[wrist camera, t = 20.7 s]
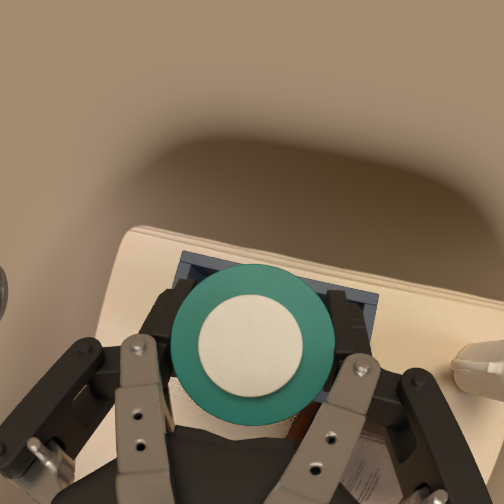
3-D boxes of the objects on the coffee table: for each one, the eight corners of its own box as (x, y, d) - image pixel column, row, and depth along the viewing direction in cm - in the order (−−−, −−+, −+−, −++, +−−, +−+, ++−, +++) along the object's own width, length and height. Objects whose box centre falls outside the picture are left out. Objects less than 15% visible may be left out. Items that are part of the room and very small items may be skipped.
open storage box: (194, 352, 35) (152, 358, 23) (213, 279, 37) (182, 250, 25) (328, 385, 32) (353, 408, 20) (346, 309, 34) (379, 293, 22)
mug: (495, 344, 31) (556, 340, 20) (484, 395, 30) (544, 406, 18) (435, 333, 33) (493, 327, 21) (423, 389, 31) (477, 404, 20)
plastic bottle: (285, 403, 17) (292, 456, 8) (201, 363, 18) (138, 381, 9) (324, 319, 18) (365, 300, 10) (240, 282, 19) (209, 233, 11)
